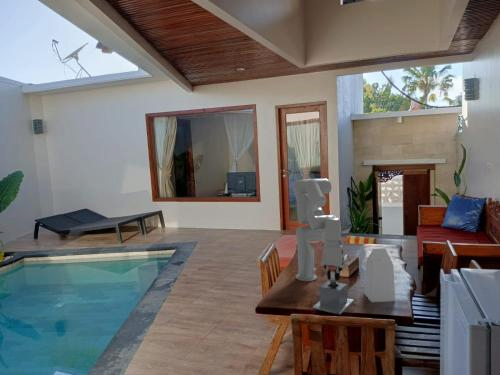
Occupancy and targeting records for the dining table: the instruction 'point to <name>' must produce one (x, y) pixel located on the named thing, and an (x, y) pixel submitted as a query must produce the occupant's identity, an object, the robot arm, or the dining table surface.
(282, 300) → the dining table surface
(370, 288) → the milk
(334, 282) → the pin
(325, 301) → the receiver
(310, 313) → the dining table surface
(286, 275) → the dining table surface
